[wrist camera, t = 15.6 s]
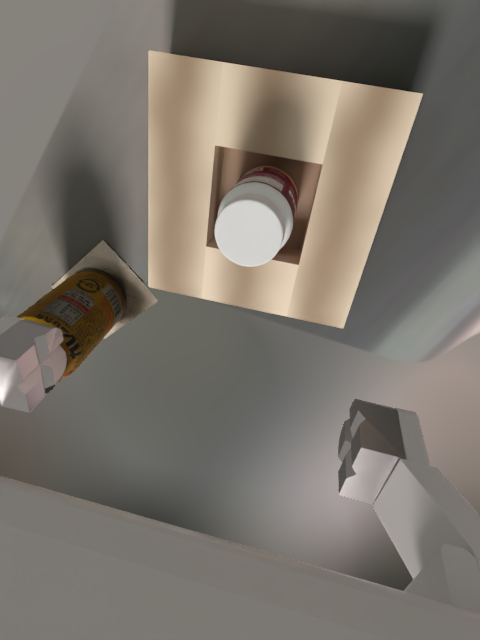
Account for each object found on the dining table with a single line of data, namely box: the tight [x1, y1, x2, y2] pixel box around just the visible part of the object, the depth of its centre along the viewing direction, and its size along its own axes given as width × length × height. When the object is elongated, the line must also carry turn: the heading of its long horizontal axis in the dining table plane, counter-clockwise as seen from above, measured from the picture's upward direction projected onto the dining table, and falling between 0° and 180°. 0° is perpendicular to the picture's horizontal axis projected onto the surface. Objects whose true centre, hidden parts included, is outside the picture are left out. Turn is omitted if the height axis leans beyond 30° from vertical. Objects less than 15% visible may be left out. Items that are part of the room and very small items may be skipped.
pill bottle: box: [214, 166, 298, 267], centre depth 25 cm, size 5×5×8 cm
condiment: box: [17, 240, 158, 394], centre depth 32 cm, size 7×8×12 cm
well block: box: [148, 50, 423, 328], centre depth 28 cm, size 16×16×4 cm
